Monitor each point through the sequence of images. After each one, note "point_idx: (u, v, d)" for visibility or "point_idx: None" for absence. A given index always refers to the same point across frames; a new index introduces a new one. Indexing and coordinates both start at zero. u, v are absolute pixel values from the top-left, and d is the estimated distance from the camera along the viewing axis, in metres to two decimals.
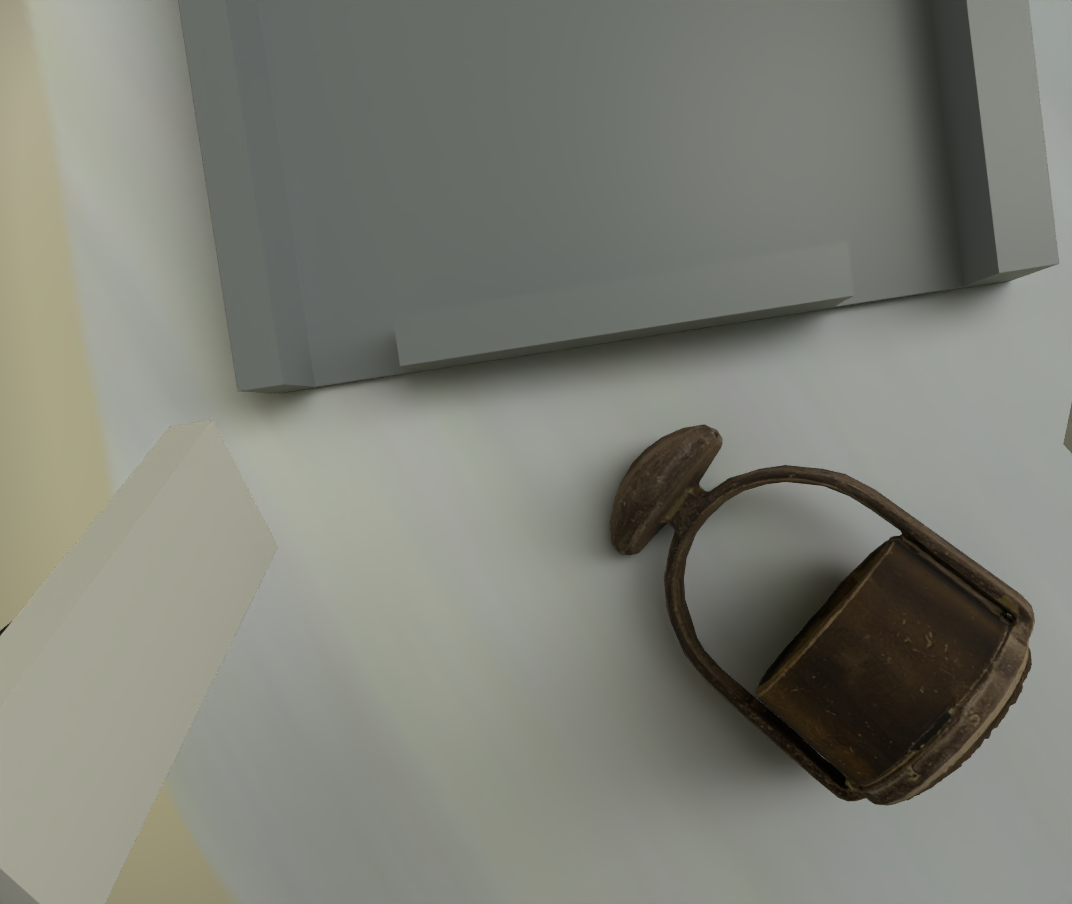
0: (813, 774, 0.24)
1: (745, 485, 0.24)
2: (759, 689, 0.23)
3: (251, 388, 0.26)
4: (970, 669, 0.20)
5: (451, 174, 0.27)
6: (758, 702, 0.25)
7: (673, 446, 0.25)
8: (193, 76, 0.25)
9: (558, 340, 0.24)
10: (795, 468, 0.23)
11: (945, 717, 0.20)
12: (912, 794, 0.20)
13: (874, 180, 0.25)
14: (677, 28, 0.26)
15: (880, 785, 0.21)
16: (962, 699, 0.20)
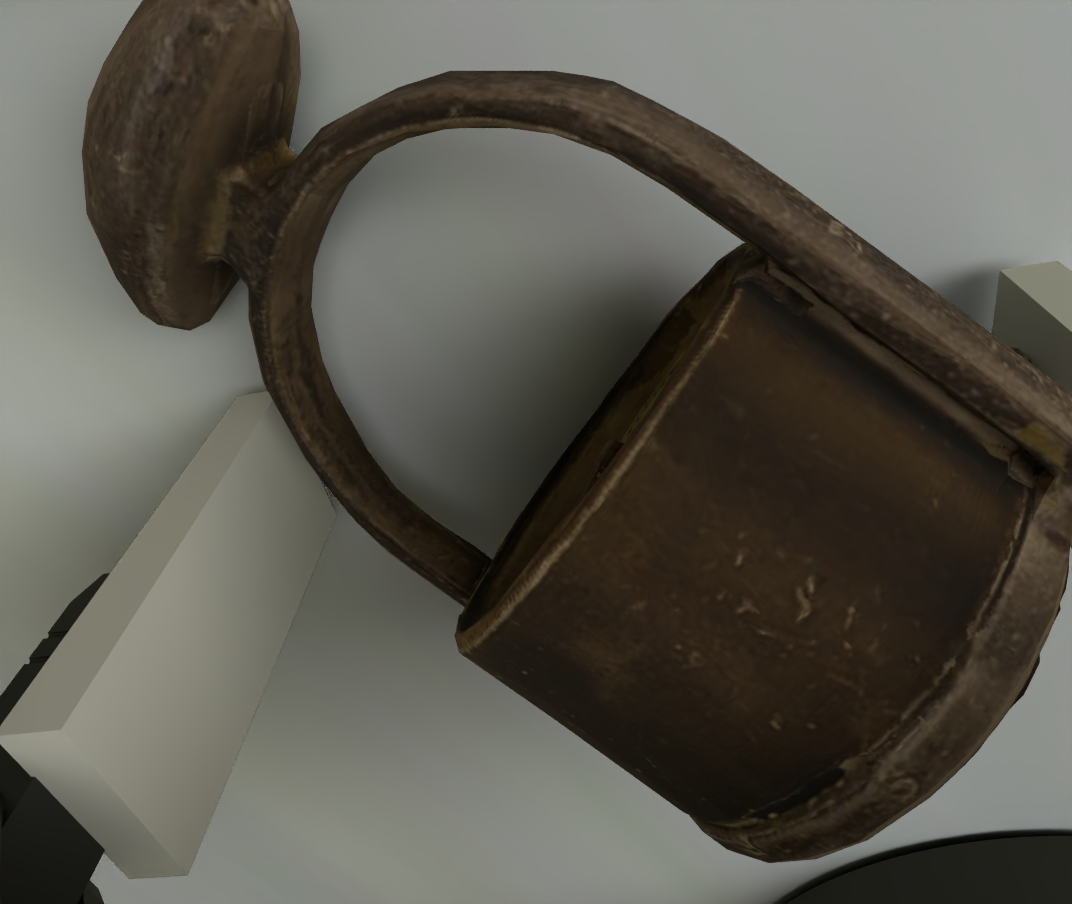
0: None
1: (352, 150, 0.09)
2: None
3: None
4: (910, 665, 0.07)
5: None
6: None
7: (134, 53, 0.08)
8: None
9: None
10: (465, 83, 0.08)
11: (830, 778, 0.08)
12: None
13: None
14: None
15: (695, 818, 0.10)
16: (878, 743, 0.07)
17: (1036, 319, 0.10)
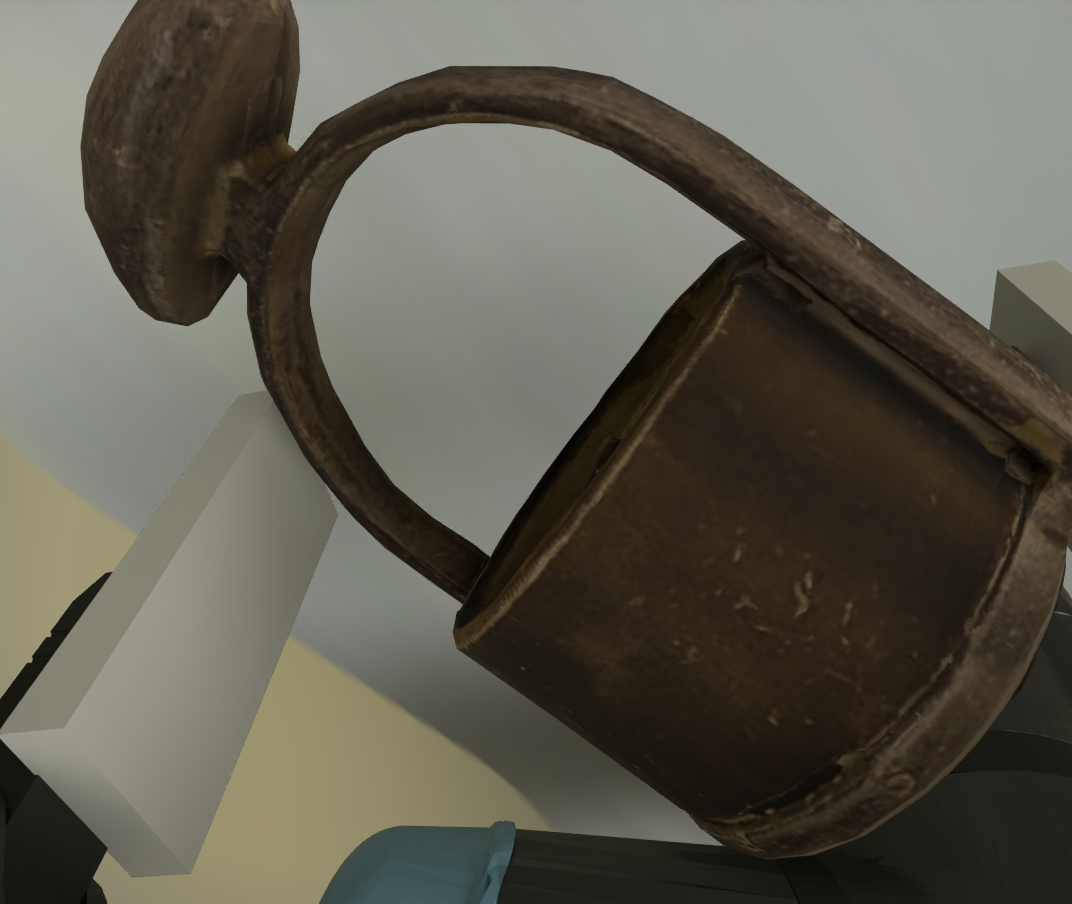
0: None
1: (351, 145, 0.08)
2: None
3: None
4: (906, 660, 0.07)
5: None
6: None
7: (133, 46, 0.08)
8: None
9: None
10: (465, 78, 0.08)
11: (827, 774, 0.08)
12: None
13: None
14: None
15: (691, 815, 0.10)
16: (875, 739, 0.07)
17: (1033, 319, 0.10)
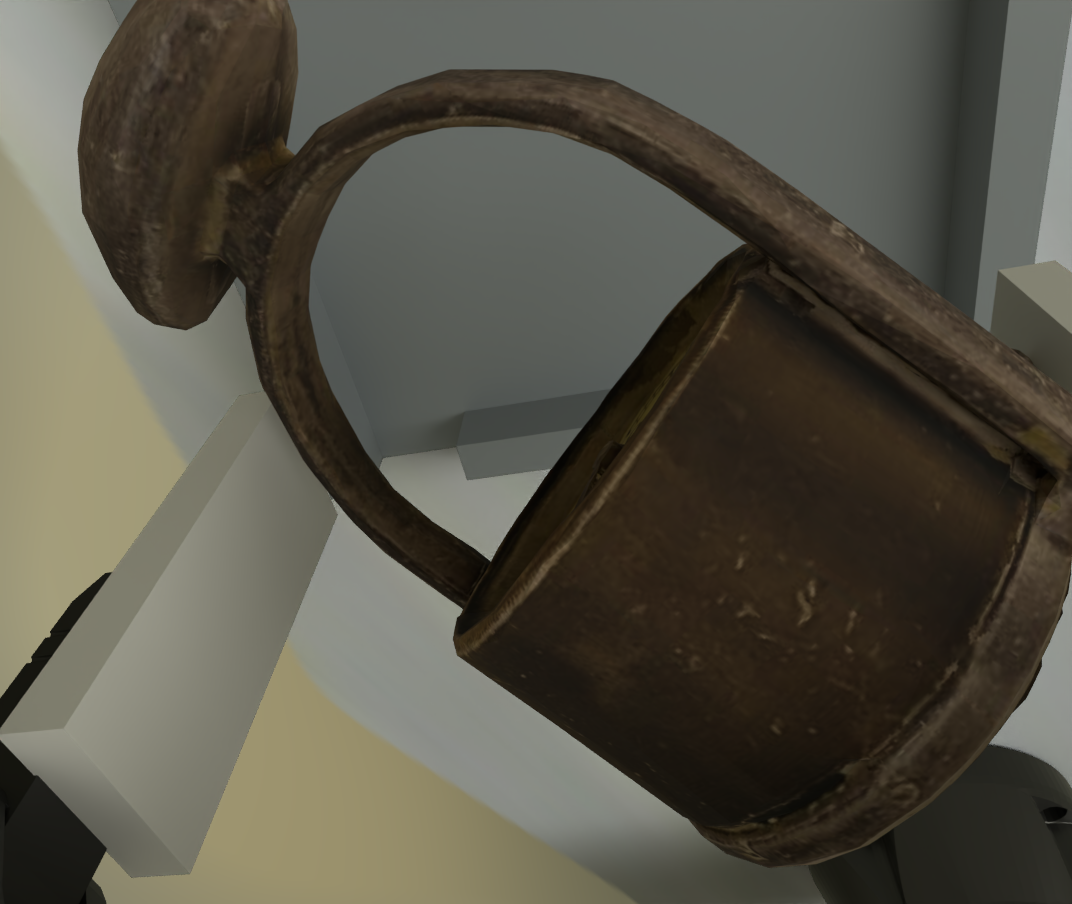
0: None
1: (350, 148, 0.08)
2: None
3: None
4: (911, 669, 0.07)
5: (484, 289, 0.28)
6: None
7: (130, 50, 0.08)
8: None
9: None
10: (465, 81, 0.08)
11: (831, 783, 0.08)
12: None
13: None
14: None
15: (694, 821, 0.10)
16: (879, 749, 0.07)
17: (1034, 319, 0.10)
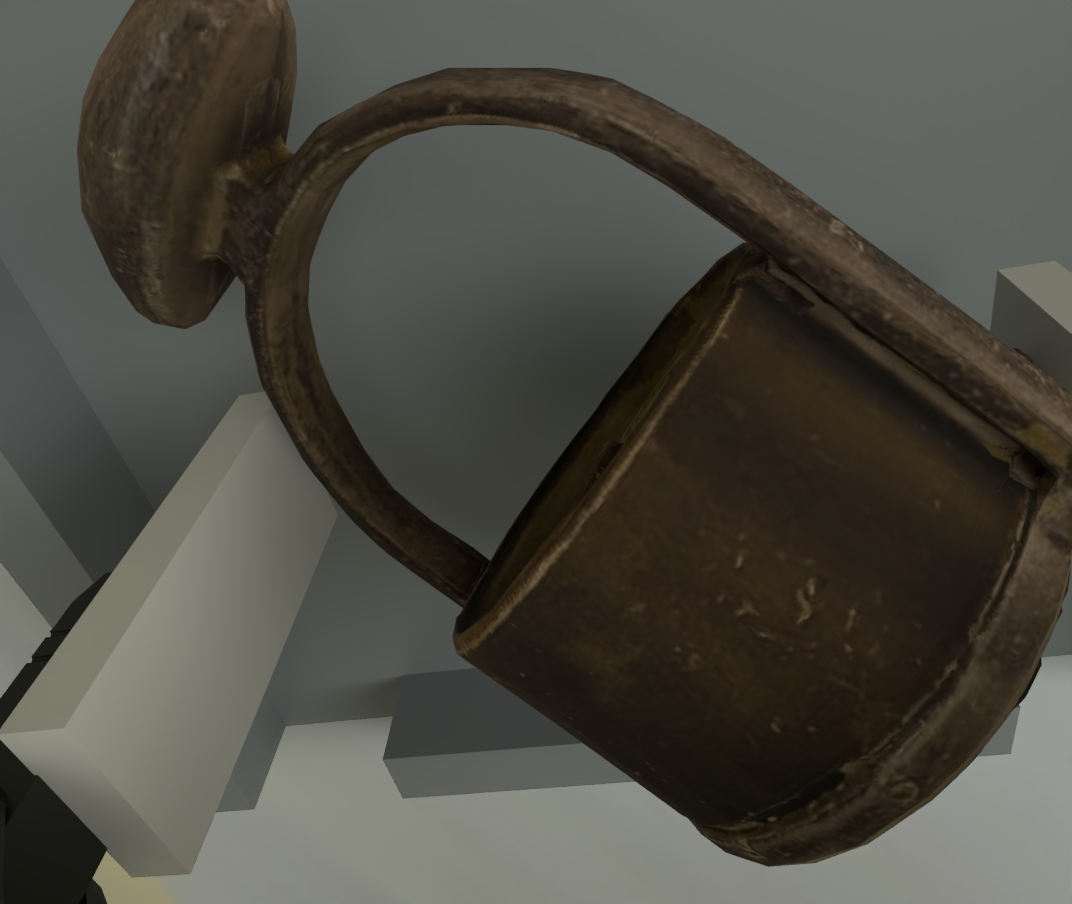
0: None
1: (349, 147, 0.08)
2: (456, 624, 0.10)
3: None
4: (911, 668, 0.07)
5: None
6: None
7: (129, 48, 0.08)
8: None
9: None
10: (464, 80, 0.08)
11: (830, 782, 0.08)
12: None
13: None
14: None
15: (693, 821, 0.10)
16: (878, 747, 0.07)
17: (1034, 318, 0.10)
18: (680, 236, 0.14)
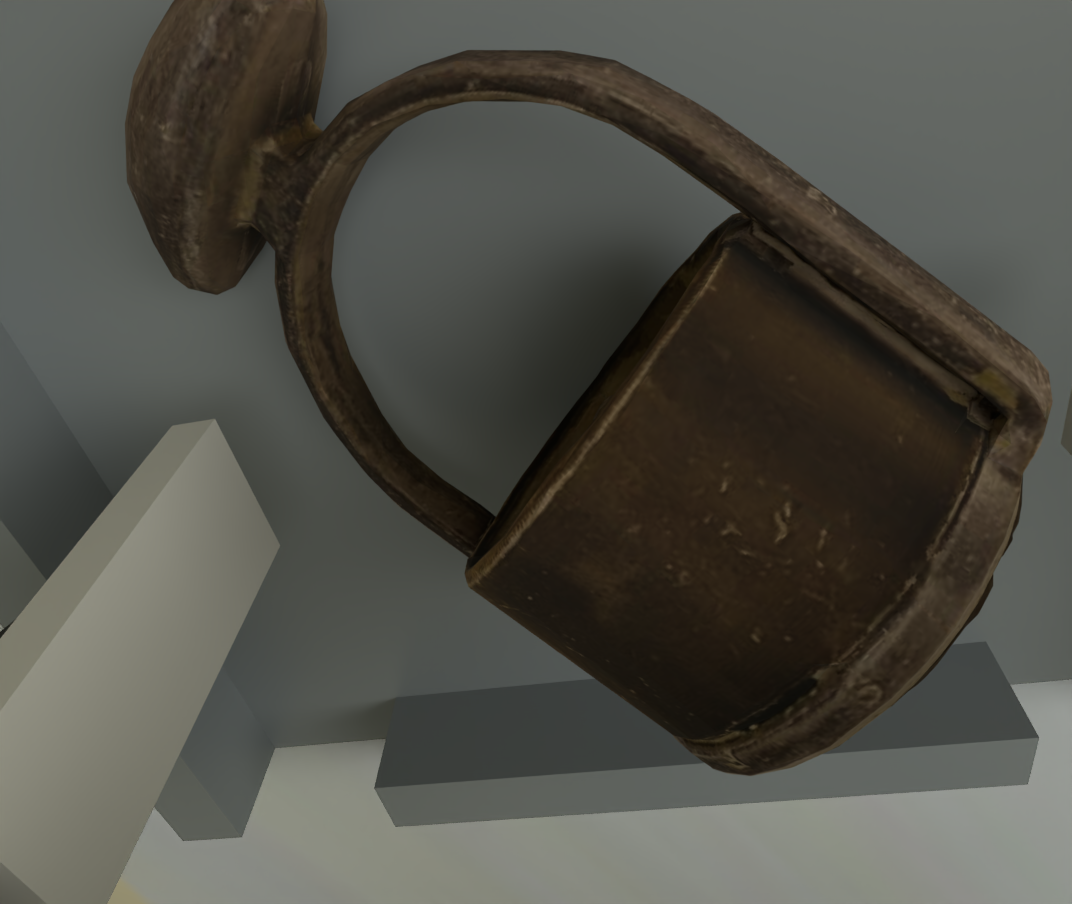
0: None
1: (376, 121, 0.09)
2: None
3: (200, 838, 0.19)
4: (875, 581, 0.08)
5: (416, 543, 0.17)
6: None
7: (179, 30, 0.09)
8: None
9: None
10: (482, 60, 0.09)
11: (804, 687, 0.08)
12: None
13: None
14: None
15: (684, 742, 0.11)
16: (846, 653, 0.08)
17: None
18: (685, 247, 0.13)
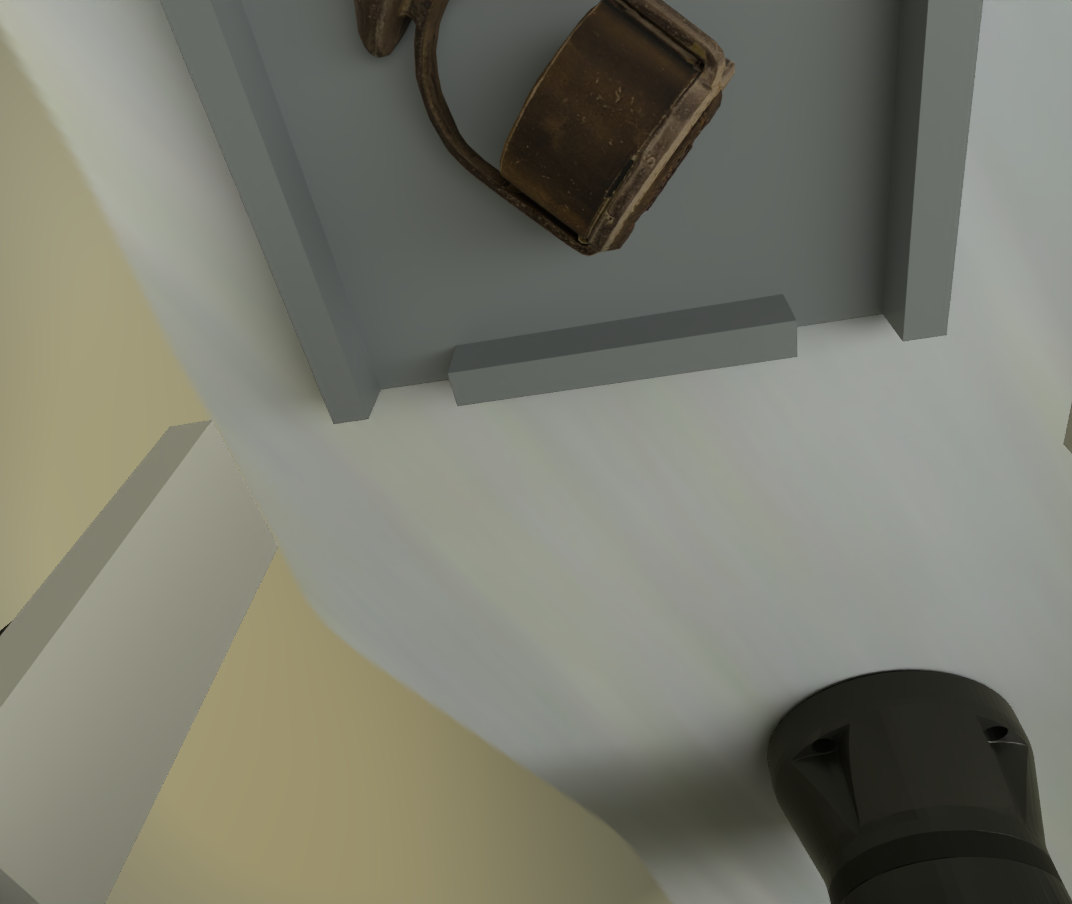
0: (561, 238, 0.28)
1: None
2: None
3: (343, 421, 0.34)
4: (651, 116, 0.22)
5: (473, 229, 0.31)
6: None
7: None
8: (239, 187, 0.28)
9: (577, 388, 0.32)
10: None
11: (629, 163, 0.23)
12: (613, 235, 0.25)
13: (827, 235, 0.31)
14: None
15: (592, 233, 0.25)
16: (642, 145, 0.23)
17: None
18: None
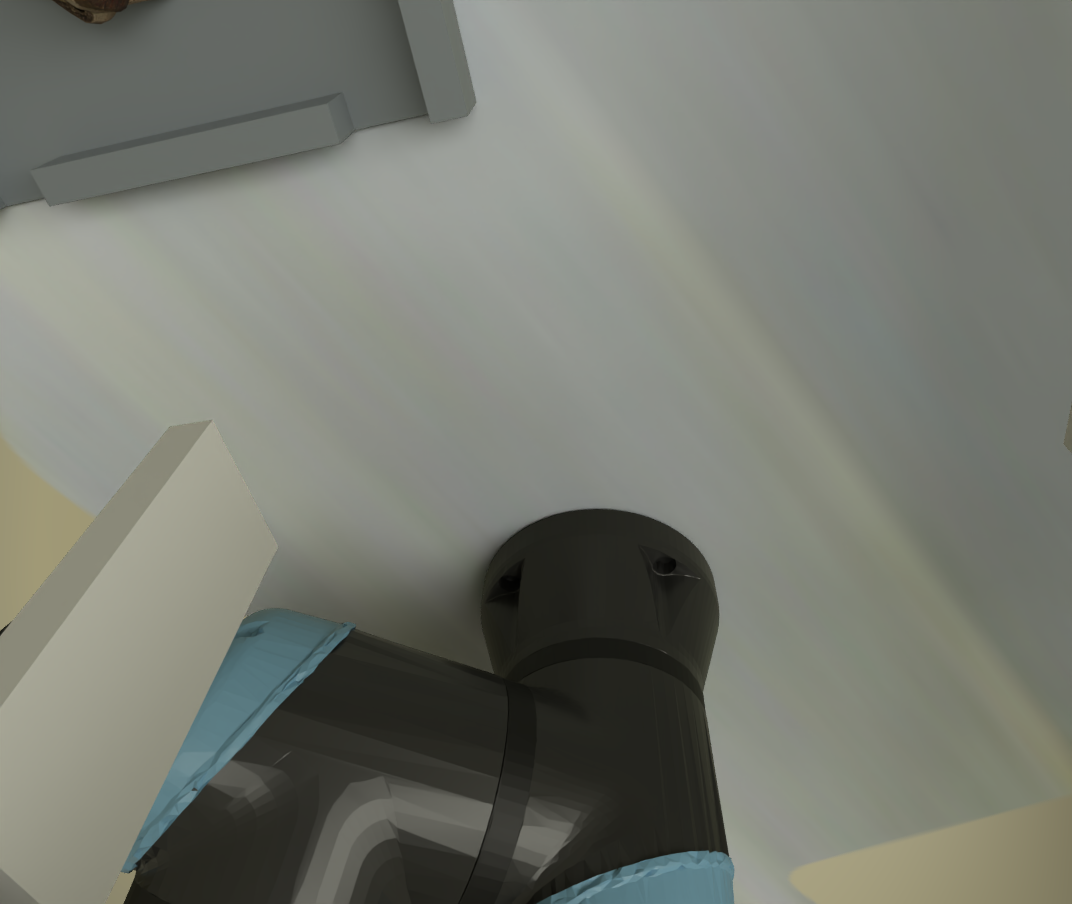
0: (64, 7, 0.30)
1: None
2: None
3: None
4: None
5: (41, 29, 0.33)
6: None
7: None
8: None
9: (151, 183, 0.34)
10: None
11: None
12: None
13: (363, 27, 0.33)
14: None
15: None
16: None
17: None
18: None
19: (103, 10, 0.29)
